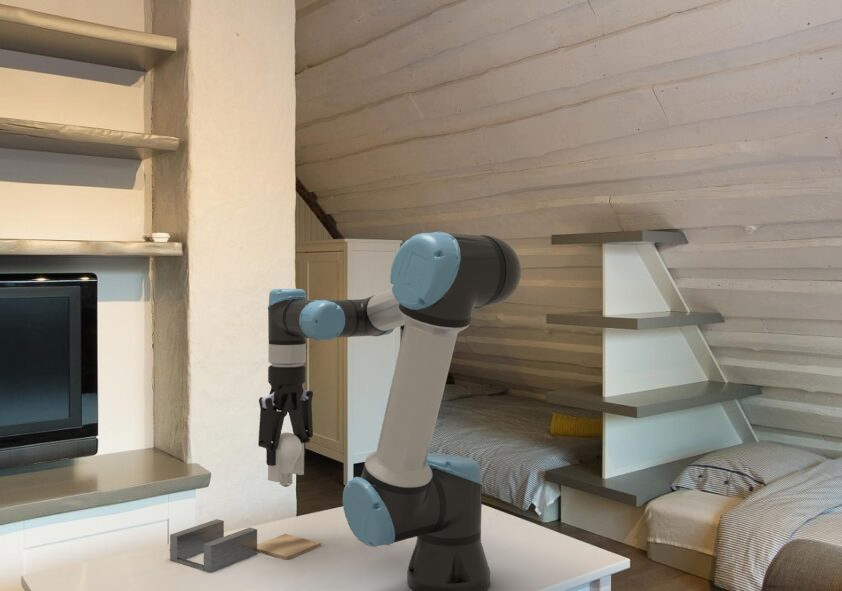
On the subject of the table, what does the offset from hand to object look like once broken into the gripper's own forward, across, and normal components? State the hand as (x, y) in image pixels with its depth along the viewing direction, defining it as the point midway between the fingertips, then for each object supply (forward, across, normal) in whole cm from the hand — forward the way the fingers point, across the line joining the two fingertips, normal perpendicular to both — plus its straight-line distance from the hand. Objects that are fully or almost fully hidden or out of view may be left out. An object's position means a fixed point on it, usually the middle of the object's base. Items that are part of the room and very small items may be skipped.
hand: (286, 477), depth 163 cm
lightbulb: (+2, 0, 0) cm, 2 cm away
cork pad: (+15, 0, 0) cm, 15 cm away
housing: (+15, +12, -8) cm, 20 cm away
